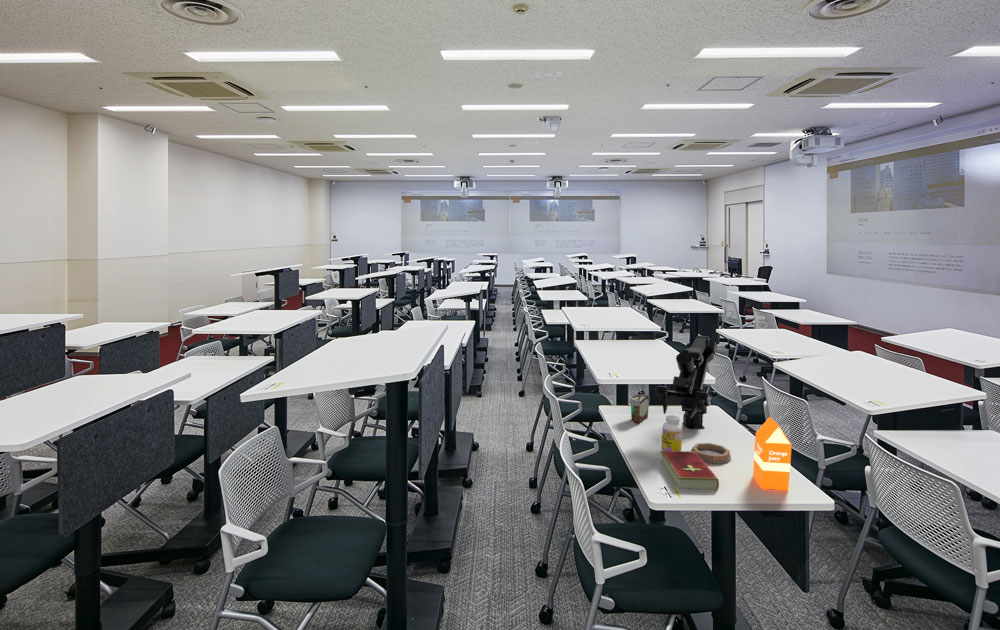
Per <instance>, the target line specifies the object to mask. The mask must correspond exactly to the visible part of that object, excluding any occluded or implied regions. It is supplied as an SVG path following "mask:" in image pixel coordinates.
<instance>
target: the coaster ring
mask: <svg viewBox="0 0 1000 630" xmlns="http://www.w3.org/2000/svg"><path fill="white" fill-rule="evenodd" d="M690 451H691V452H696V453H697V454H698V455H699V456H700V458H701V459H702V460H703V461H704V462H705V464H713V465H723V464H727V463H729V462H731V460H732V457H731V454H730V453H731V451H730V450H729V449H728V448H726V447H725V446H724V445H720V444H716V443H711V442H700V443H699V442H698V443H695V444H694V445H693V446H692V447H691V450H690Z"/></svg>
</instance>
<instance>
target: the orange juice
mask: <svg viewBox="0 0 1000 630" xmlns="http://www.w3.org/2000/svg"><path fill="white" fill-rule="evenodd" d="M754 441H755V442H754V452H753V470H752V471H753V472H752V477H754V478H753V479H754V481H755V483H757V485H758V484H759V485H758V486H759V488H760V489H761V490H767V489H775V490H774V491H782V490H786V491H785V492H789V488H790V485H789V483H790V472H791V459H792V458H791V457H792V445H793V444H792V443H791V441H790V440H789V439H788V438H787V436H786V434H785V433H784V432H783V430H782V429H781V427H780V425H779V423H777V422H776V421H775V420H774V419H773V418H772V417H771V416H769V417H768V418H767V419H766V421H765V422H763V424H762V425H761V426H760V428H758V430H757V431H756V432H755V439H754Z"/></svg>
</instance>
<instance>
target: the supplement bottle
mask: <svg viewBox="0 0 1000 630" xmlns="http://www.w3.org/2000/svg"><path fill="white" fill-rule="evenodd" d="M680 420H681V419H680V417H679V416H677V415H667V416H665V422H664V423H663V424H662V432H661V451H682V444H683V443H682V440H683V426H682V424H680V422H681V421H680Z"/></svg>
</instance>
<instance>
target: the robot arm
mask: <svg viewBox="0 0 1000 630" xmlns="http://www.w3.org/2000/svg"><path fill="white" fill-rule="evenodd" d="M717 346H718V345H717V344H716V341H713V340H712V339H710V337H709V336H707V335H697V336H695V340H694V342H693V343H692V345H691V346H690V347H688V348H686V349H683V351H681V352H679V353H678V354H677V355H676V357H675V359H676V360H675V361H676V364H677V366H678V367H677V368H678V370H679V375H678V376H675V375H674V376H673V380H672V386H673V387H672V388H673V390H669V388H668V386H664V385H657V386H656V387H655V390H654V392H655V395H656V398H657V399H659V400H660V401H661V402H662V411H663V415H665V414H666V413H667V409H668V405H669V398H670V397H673V398H674V397H675V398H680V399H681V412H684V414H683V418H682V419H683V421H682V424H681V425H683V426H685V427H686V428H687V429H690V430H692V429H693V430H694V429H705V426H704V425H703V421H704V420H703V419H704V415H706V414H707V411H708V409H707V408H708V407H710V404H711V403H710V402H711V399H710V394H709V393H708V392H707V391H706V392H705V391H703V387H704V383H705V380H706V375H707V370H708V366H709V363H710V362H711V361H713V360H714V357H715V355H716V354H717V350H718V348H717Z"/></svg>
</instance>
